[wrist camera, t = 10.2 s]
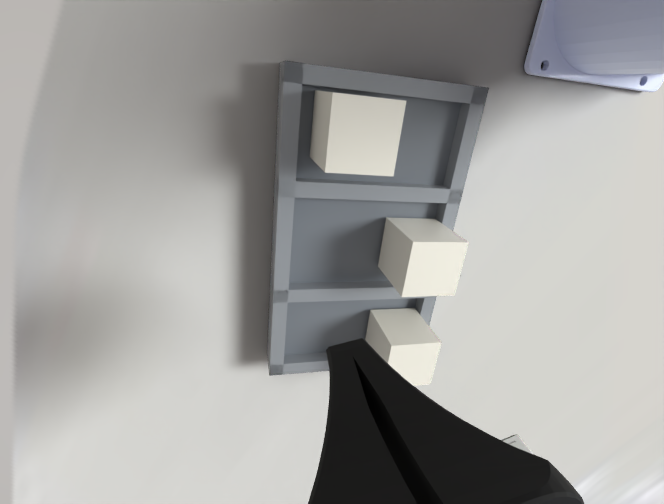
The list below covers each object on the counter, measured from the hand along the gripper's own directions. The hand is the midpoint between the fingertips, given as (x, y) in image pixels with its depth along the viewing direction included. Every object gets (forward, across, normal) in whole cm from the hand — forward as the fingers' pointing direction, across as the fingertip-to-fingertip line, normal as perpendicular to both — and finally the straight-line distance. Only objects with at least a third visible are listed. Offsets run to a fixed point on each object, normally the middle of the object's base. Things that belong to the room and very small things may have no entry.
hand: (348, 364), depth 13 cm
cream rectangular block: (+8, -6, 0) cm, 10 cm away
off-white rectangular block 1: (+8, -3, -7) cm, 11 cm away
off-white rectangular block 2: (+8, -4, +6) cm, 11 cm away
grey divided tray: (+10, -3, 0) cm, 10 cm away
